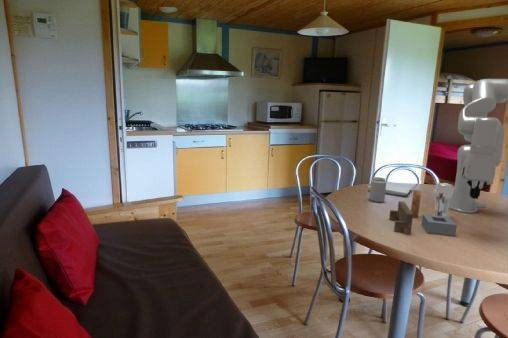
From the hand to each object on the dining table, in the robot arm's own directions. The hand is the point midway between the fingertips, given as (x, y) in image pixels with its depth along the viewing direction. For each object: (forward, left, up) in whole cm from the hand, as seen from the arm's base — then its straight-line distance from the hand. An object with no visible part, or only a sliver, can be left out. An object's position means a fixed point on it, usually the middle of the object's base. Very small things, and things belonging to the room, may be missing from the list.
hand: (473, 197), depth 133 cm
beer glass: (+5, -19, -15) cm, 25 cm away
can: (+31, -36, -15) cm, 50 cm away
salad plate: (+21, -61, -15) cm, 67 cm away
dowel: (+17, -15, -15) cm, 27 cm away
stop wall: (+25, 0, -15) cm, 29 cm away
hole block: (+11, 0, -15) cm, 18 cm away
